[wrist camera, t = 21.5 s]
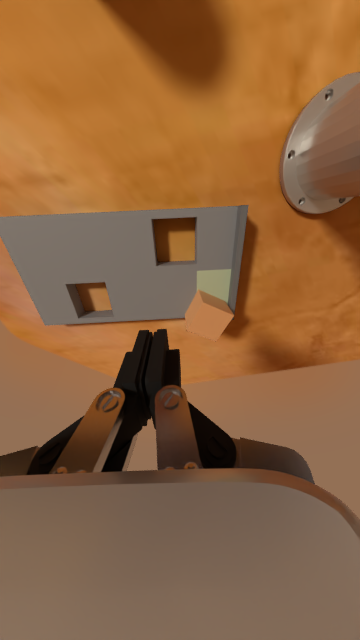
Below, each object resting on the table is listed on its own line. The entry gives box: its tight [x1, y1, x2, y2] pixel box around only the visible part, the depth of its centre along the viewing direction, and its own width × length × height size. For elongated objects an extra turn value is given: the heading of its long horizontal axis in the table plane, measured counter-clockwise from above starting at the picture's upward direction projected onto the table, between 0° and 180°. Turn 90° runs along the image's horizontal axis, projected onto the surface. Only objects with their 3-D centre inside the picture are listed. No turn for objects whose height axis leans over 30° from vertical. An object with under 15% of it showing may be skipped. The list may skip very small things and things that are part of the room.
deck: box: [0, 205, 248, 325], centre depth 27 cm, size 32×16×4 cm, turn 92°
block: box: [185, 289, 234, 342], centre depth 28 cm, size 5×5×5 cm
